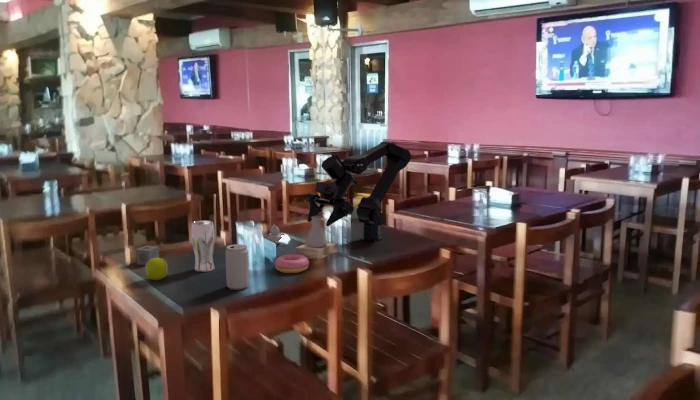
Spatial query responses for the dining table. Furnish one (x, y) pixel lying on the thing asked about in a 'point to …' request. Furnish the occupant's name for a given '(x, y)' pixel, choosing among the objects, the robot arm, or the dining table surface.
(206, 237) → the beer glass
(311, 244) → the flask
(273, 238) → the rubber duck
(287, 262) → the doughnut
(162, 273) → the tennis ball
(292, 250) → the dining table surface
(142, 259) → the dice cube
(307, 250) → the foundation block
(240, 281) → the beverage can
